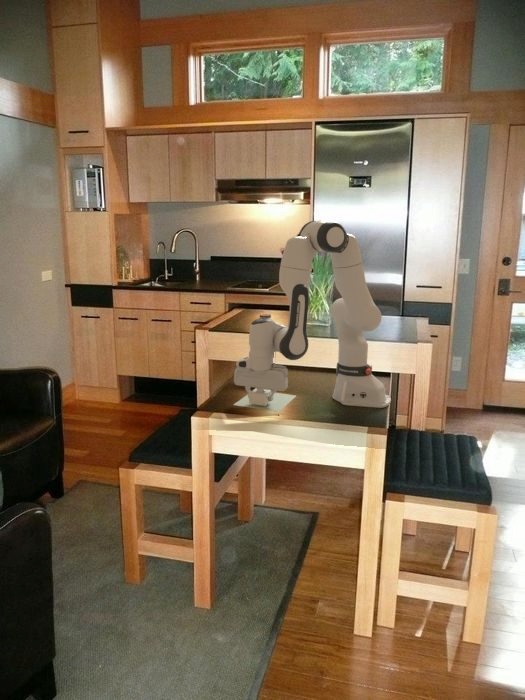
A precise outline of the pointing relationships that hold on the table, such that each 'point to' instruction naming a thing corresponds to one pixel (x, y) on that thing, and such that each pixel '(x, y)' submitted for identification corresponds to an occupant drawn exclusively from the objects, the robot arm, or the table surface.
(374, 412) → the table surface
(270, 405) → the post board
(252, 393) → the square collar
